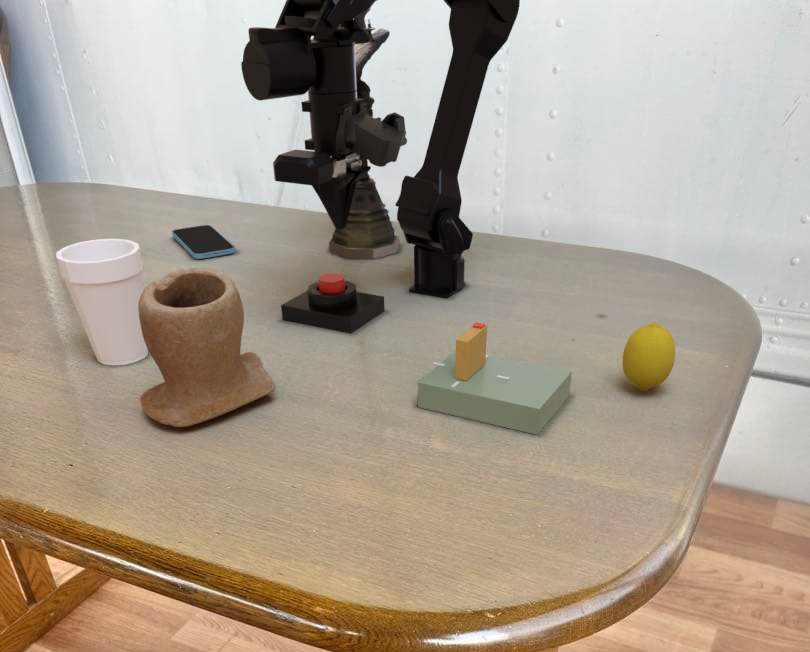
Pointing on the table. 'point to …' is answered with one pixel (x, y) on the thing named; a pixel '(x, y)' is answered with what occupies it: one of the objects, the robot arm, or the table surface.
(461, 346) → the orange flat slab
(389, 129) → the robot arm
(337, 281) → the button
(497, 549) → the table surface
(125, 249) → the foam cup
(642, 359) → the lemon
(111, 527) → the table surface
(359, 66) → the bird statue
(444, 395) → the plate
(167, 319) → the stone cup
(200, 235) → the smartphone
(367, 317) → the release button base
